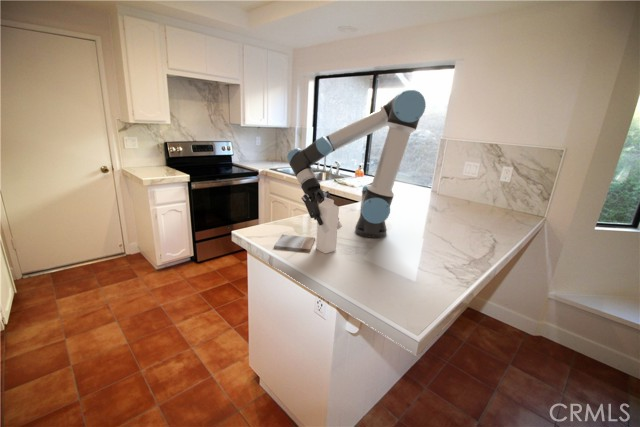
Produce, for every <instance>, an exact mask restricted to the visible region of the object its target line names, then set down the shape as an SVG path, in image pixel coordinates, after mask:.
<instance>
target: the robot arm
mask: <svg viewBox="0 0 640 427" xmlns="http://www.w3.org/2000/svg"><path fill="white" fill-rule="evenodd" d="M426 104H427V103H426V99H425V98H424V94H422V93H421V92H420V91H418V90H416V89H410V88H409V89H407V88H406V89H404V90H402V91H400V92H398V93H397V95H395V96H394V97H393V98H392V99H390V100H389V101H387V102H386V103H384V104H383V105H381V106H380V109H378V110H376V111H374V112H372V113H370V114H368V115H366V116H364V117H362V118H360V119H358V120H356V121H354V122H352V123H351V124H348V125H346V126H344V127H342V128H340V129H338V130H336V131H334V132H332V133H331V134H328V135H326V136H324V135H323V136H321V137H319V138H318V139H316V140H315V141H313V142H312V143H310V145H308V146H307V147H305V148H304V149H302V148H298V147H297V148H296V147H295V148H294V149H291V150H290V151H289V152H288V153H287V156H286V158H287V159H286V160H287V162H288V164H289V167H290V168H291V170H292V172H293V174H294V176H295V177H296V180H297V181H298V183H299V185H300V186H301V187H300V188H301V189H302V191H303V193H304V194H303V196H301V200H302V202H303V203H304V205H305V207H306V210H307V213H308V215H309V216H310V219H313V220H314V221H316V222H318V224H319V225H321V227H322V229H323V231H324V233H327V232H328V231H329V228H328V226H327V224H326V222H325V220H324V218H323V216H320V212H319V207H318V205H319V204H320V203H322V202H323V201H324V197H327V198H329V199H332V200H333V198H332V196H331V195H330V191H329V190H326V191H323V189H322V188H321V183H320V182H319V180H318V178H317V176H316V174H315V172H314V170H313V169H312V166H313V165H315V164H317V163H318V162H319V161H321V160H322V159H323V158H325V157H326V156H328V155H330V154H331V153H333V152H335V151H337V150H339V149H341V148H344V147H345V146H347V145H350V144H352V143H354V142H356V141H359V140H360V139H363V138H365V137H367V136H369V135H370V134H372V133H375V132H376V131H379V130H381V129H383V128H385V127H388V131H387V135H386V138H385V141H384V145H383V146H382V147H383V148H382V151H381V153H380V157H379V159H378V160H379V161H378V163H377V167H376V170H375V174H374V177H373V181H372V182H371V184H370V185H364V186H362V190H361V202H360V213H359V218H358V220H357V222H356V224H355V227H354V232H355V233H356V234H357V235H359V236H361V237H364V238H365V237H366V238H372V239H373V238H375V239H378V238H379V239H380V238H383V237H385V236H386V235H387V232H388V229H387V225H386V220H387V219H388V218H389V217H390V214H391V206H392V202H393V199H394V197H395V195H394V193H393V188H394V184H395V182H396V178H397V175H398V171H399V169H400V166H401V164H402V161H403V156H404V155H405V151H406V148H407V145H408V142H409V139H410V137H411V133H414V132H415V131H417V128H418V124H419V122H420V119H421V118H422V117H423V114H424V113H425V111H426V107H427V106H426ZM334 204H335V205H336V203H335V202H334ZM336 206H337V205H336ZM342 227H343V224H342V223H341V221H340V218H339V217H338V228H337V231H338V230H340V229H341V228H342Z"/></svg>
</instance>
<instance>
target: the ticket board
mask: <svg viewBox="0 0 640 427" xmlns="http://www.w3.org/2000/svg"><path fill="white" fill-rule="evenodd" d="M315 241H316V237H311V236H302V235H289V234H281V236H280V237H279V238H278V240H277V241H276V243H275V244H274V246H273V248H274V249H277V250H278V249H279V250H284V251H285V250H286V251H297V252H307V253H311V251H312V249H313V246H314V244H315Z"/></svg>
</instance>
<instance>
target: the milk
mask: <svg viewBox="0 0 640 427" xmlns="http://www.w3.org/2000/svg"><path fill="white" fill-rule="evenodd" d="M334 200H335V199H333V198H332V199H329V198H327V197H324V201H323V202H322V203H318V207H319V212H320V216H323V218H324V220H325V222H326V224H327V226H328V228H329V231H328V232H327V233H324V231H323V229H322V227H321V225H319V224H318V222H317V221H316V222H317V226H316V240H315V241H316V243H315V244H316V245H315V249H316V250H318V251H320V252H321V253H322V254H327V253H328V254H329V253H332V252H336V251H337V241H338V239H337V238H338V230H337V228H338V218H339V213H340V212H339V210H340V207H339V206H338V205H335V204H336V203H335V201H334ZM334 203H335V204H334Z"/></svg>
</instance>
